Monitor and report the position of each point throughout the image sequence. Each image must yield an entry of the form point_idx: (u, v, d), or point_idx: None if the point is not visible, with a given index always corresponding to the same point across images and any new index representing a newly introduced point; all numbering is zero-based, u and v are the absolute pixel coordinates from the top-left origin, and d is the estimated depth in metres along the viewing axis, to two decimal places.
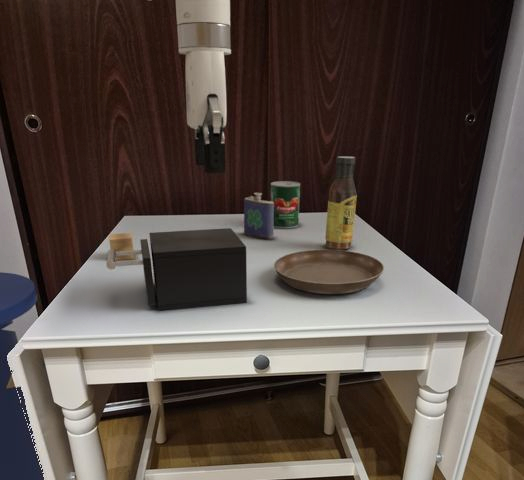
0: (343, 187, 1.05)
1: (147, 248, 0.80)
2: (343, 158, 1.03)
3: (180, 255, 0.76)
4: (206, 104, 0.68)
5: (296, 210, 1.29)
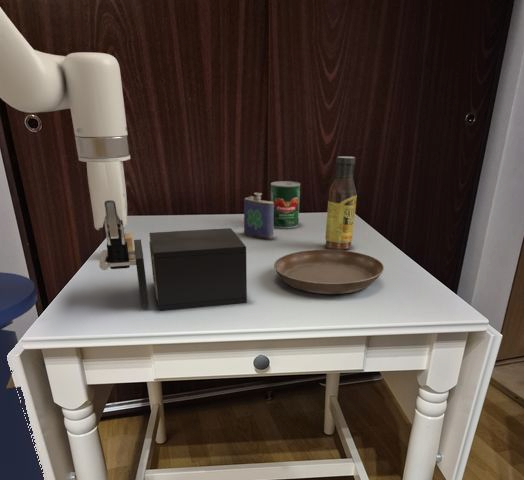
0: (343, 187, 1.05)
1: (140, 248, 0.80)
2: (343, 158, 1.03)
3: (180, 255, 0.76)
4: (104, 210, 0.72)
5: (296, 210, 1.29)
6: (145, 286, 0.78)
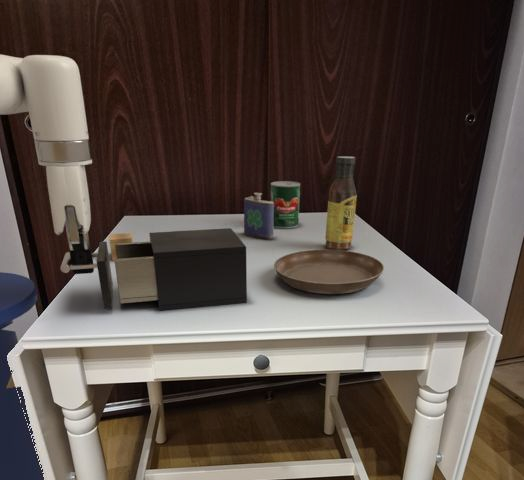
0: (343, 187, 1.05)
1: (104, 251, 0.79)
2: (343, 158, 1.03)
3: (180, 255, 0.76)
4: (64, 214, 0.71)
5: (296, 210, 1.29)
6: (107, 289, 0.76)
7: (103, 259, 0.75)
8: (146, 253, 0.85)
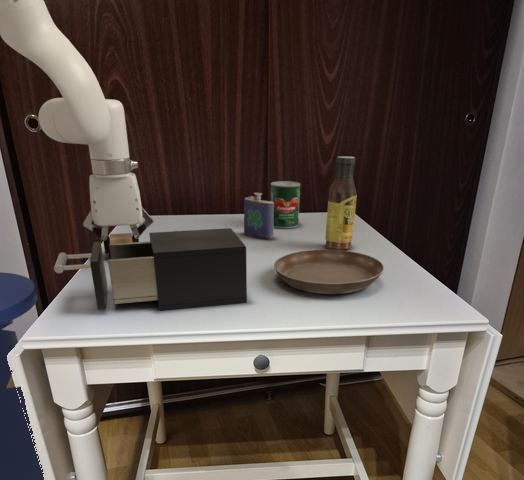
0: (343, 187, 1.05)
1: (97, 251, 0.79)
2: (343, 158, 1.03)
3: (180, 255, 0.76)
4: None
5: (296, 210, 1.29)
6: (101, 290, 0.76)
7: (96, 259, 0.75)
8: (140, 253, 0.85)
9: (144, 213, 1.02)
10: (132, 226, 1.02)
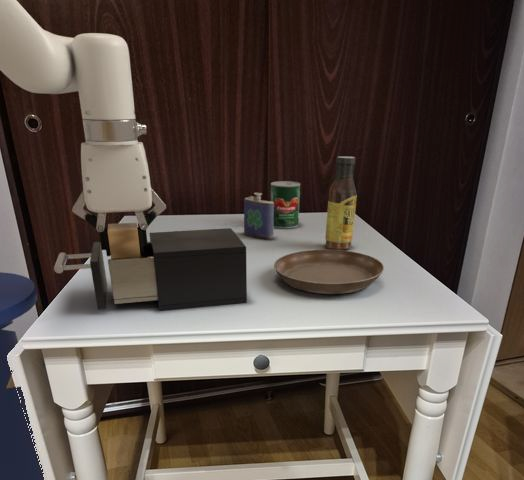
0: (343, 187, 1.05)
1: (97, 251, 0.79)
2: (343, 158, 1.03)
3: (180, 255, 0.76)
4: None
5: (296, 210, 1.29)
6: (101, 290, 0.76)
7: (96, 259, 0.75)
8: None
9: (154, 196, 0.77)
10: (138, 213, 0.77)
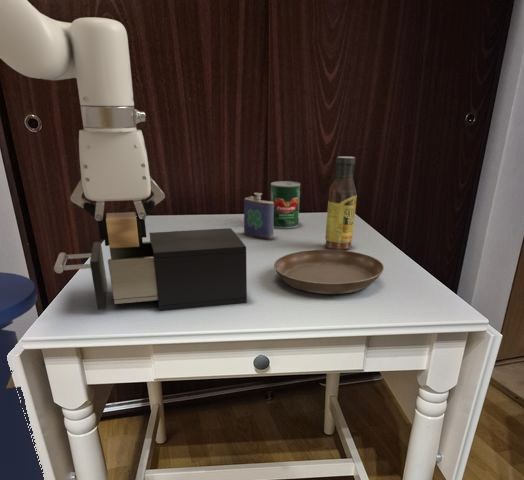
0: (343, 187, 1.05)
1: (97, 251, 0.79)
2: (343, 158, 1.03)
3: (180, 255, 0.76)
4: None
5: (296, 210, 1.29)
6: (101, 290, 0.76)
7: (96, 259, 0.75)
8: (140, 253, 0.85)
9: (153, 185, 0.76)
10: (136, 202, 0.76)
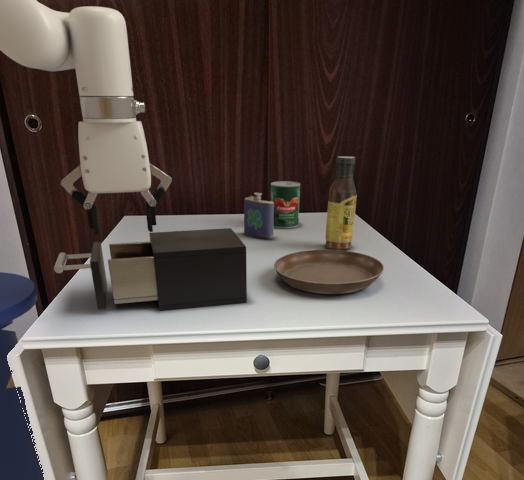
0: (343, 187, 1.05)
1: (97, 251, 0.79)
2: (343, 158, 1.03)
3: (180, 255, 0.76)
4: None
5: (296, 210, 1.29)
6: (101, 290, 0.76)
7: (96, 259, 0.75)
8: (140, 253, 0.85)
9: (157, 171, 0.75)
10: (143, 191, 0.75)
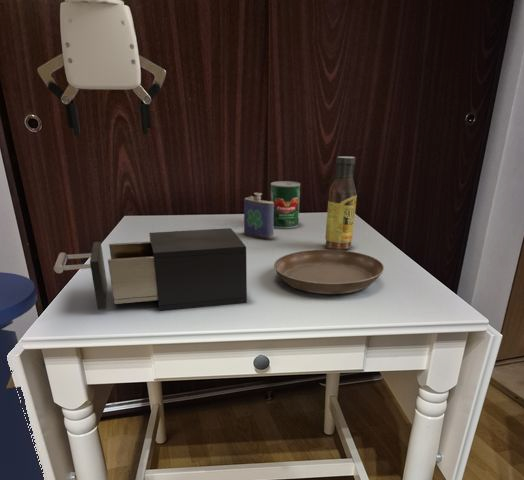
0: (343, 187, 1.05)
1: (97, 251, 0.79)
2: (343, 158, 1.03)
3: (180, 255, 0.76)
4: None
5: (296, 210, 1.29)
6: (101, 290, 0.76)
7: (96, 259, 0.75)
8: (140, 253, 0.85)
9: (148, 64, 0.69)
10: (135, 87, 0.69)
